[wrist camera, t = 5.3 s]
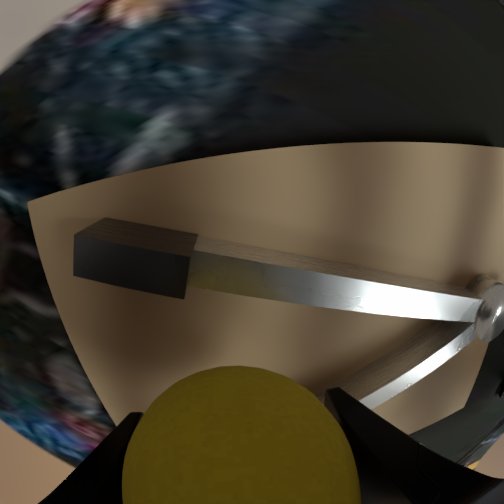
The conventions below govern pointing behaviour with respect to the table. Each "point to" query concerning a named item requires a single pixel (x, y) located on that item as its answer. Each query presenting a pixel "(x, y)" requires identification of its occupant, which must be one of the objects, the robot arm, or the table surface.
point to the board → (287, 240)
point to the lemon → (239, 444)
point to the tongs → (299, 292)
